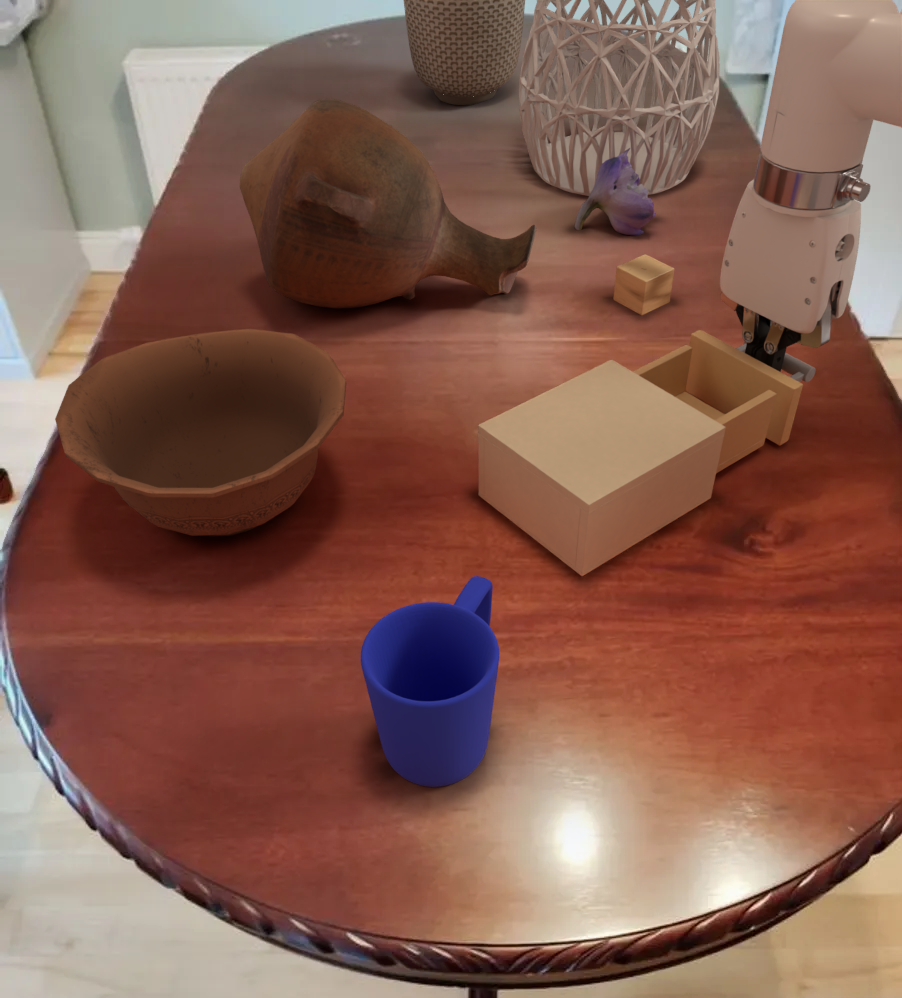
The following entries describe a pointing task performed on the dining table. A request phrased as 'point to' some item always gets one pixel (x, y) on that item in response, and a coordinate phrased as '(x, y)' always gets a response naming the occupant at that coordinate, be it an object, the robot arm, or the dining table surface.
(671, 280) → the block
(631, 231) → the flower
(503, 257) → the jug
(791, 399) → the drawer
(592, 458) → the cabinet
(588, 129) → the vase
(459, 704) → the mug
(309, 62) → the dining table surface
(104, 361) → the bowl
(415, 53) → the planter
